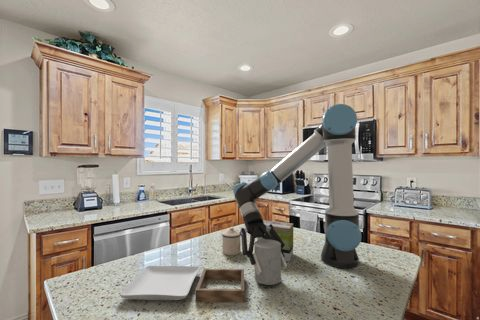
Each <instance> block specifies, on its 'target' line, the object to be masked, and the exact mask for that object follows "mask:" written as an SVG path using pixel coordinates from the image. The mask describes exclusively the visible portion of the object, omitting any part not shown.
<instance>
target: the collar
mask: <svg viewBox="0 0 480 320" xmlns="http://www.w3.org/2000/svg"><path fill="white" fill-rule="evenodd" d="M207 280H214V281H216V280H223V281H224V280H225V281H227V280H228V281H240V288H204V286H205V284H206V281H207ZM196 302H197V303H199V302H200V303H203V302H204V303H206V302H207V303H245V269H244V268H203V270H202V273H201V275H200V278H199V280H198V283H197V285H196V288H195V303H196Z"/></svg>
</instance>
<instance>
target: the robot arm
mask: <svg viewBox="0 0 480 320" xmlns="http://www.w3.org/2000/svg"><path fill="white" fill-rule="evenodd" d="M321 118H322V119H321V123H320V124H319V125H318V126H317V127H316V128H315V129H314V130H313V134H311V135H310V136H309V137H308V138H307V139H305V140H304V141H303V142H302V143H301V144H299V146H297V147H296V148H295V149H294V150H293V151H291V152H290V153H289V154H288V155H287V156H286V157H284V158H283V159H282V160H280V162H278V163H277V164H276V165H275V166H273V168H271V169H270V170H266V171H265V172H263V173H261V174H260V175H259V176H257V177H256V178H254V179H253V180H252V181H250V182H249V183H247V182H240V183H237V184H235V185H234V187H233V189H232V191H233V195H234V199H235V202H236V204H237V206H238V209H239V212H240V215H241V217H242V221H243V223H244V227H245V228H244V227H241V229H240V231H239V232H240V235H241V236H240V239H241V252H242V256H243V257H245V256H246V258H248V259H249V261H250V264H251V266H254V267H253V268H254V271H255V270H256V273H257V275H259V274H260V273H261V272H262V271H261V268H260V265H259V262H258V259H257V257H256V254H255V252H254V249H255V245H254V243H255V242H256V239H257V238H258V237H262V238H263V239H269V240H275V241H278V242H280V243H281V271H282V270H285V269H286V268H287V267H288V265H287V263H286V262H287V261H285V260H284V257H285V256H284V253H283V251H282V248H283V247H284V246H285V244H284V243H283V241H282V240H281V238H280V237H279V236H278V234H277V233H276V232H275V230H274V228H273V225H272V224H270V225H269V226H266V225H265V224H264V223H263V220H264V219H263V217H262V214H261V212H260V209H259V207H258V205H257V202H256V200H257V199H260V197H262V196H264V195H265V194H267V193H268V192H271V191H273V190H274V189H276V188H277V187H278V186H279V185H280V184H281V183H283V181H285V180H287V178H288V177H289V176H291V175H292V174H293V173H294V172H295V171H297V170H298V169H299V168H301V166H303V165H304V164H306V163H307V162H308V161H309V160H310V159H311V158H313V157H314V156H315V155H316V154H317V153H319V152H321V150H322V149H324V148H325V147H327V171H328V172H327V173H328V201H329V202H328V203H329V207H326V208H325V210H324V211H325V212H324V220H325V221H324V224H325V225H324V229H325V232H324V234H325V235H324V244H323V248H322V250H321V255H320V260H321V261H322V262H323V263H324V264H326V265H329V266H330V267H333V268H339V269H355V268H357V267H358V266H359V265H360V259H359V256H358V252H357V249H356V248H357V247H358V246H359V245H360V244H361V241H362V232H361V229H360V219H359V212H358V210H356V209H355V205H354V204H355V203H354V202H355V201H354V180H353V179H354V176H353V173H354V172H353V171H354V170H353V147H352V146H353V144H354V143H355V142H356V140H357V136H356V131H357V130H356V125H357V124H358V123H357V122H358V115H357V113H356V111H355V110H354V108H352V106H350V105H348V104H344V103H337V104H333V105H331V106H330V107H328V108H327V109H326V110H325V111H324V112H323V114H322V117H321ZM266 229H267V231H268V232H269V233H270V235H271V236H272V237H271V236H270V235H269V233H268V232H267V231H266ZM247 233H248V234H249V236H250V237H249V243H248V240H247V239H248V238H247ZM264 234H265V235H264ZM248 244H249V245H248Z"/></svg>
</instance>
